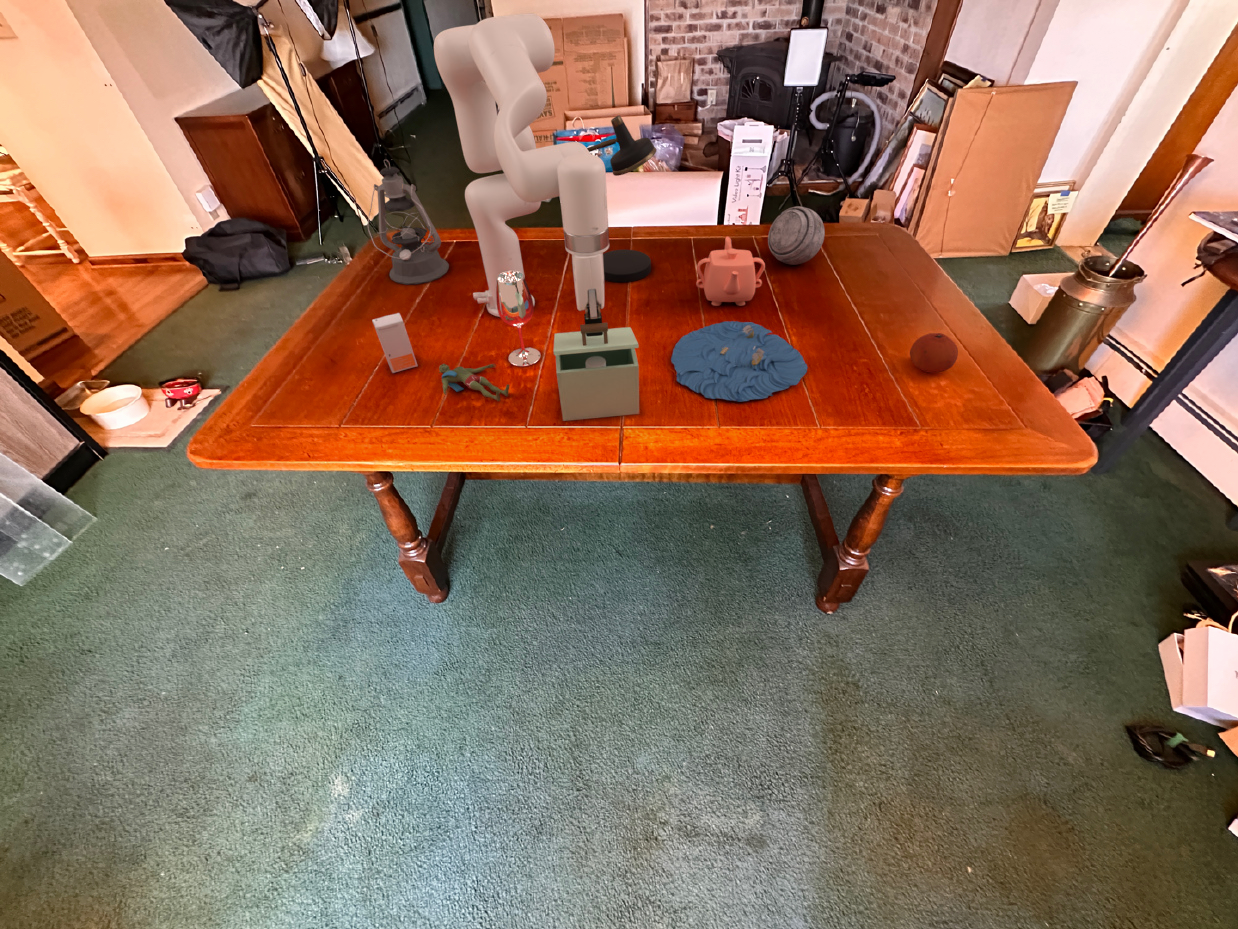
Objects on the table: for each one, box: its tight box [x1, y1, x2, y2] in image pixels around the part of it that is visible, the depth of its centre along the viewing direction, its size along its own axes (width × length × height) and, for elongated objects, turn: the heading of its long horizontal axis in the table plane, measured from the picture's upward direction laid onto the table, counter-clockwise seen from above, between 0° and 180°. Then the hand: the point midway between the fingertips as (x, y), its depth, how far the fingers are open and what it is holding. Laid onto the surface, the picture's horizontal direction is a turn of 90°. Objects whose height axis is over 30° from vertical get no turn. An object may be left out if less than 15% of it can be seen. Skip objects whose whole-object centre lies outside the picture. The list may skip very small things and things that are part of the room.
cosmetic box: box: [371, 312, 419, 374], centre depth 125 cm, size 6×4×12 cm
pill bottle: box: [586, 356, 606, 368], centre depth 113 cm, size 5×5×10 cm
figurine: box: [438, 363, 510, 402], centre depth 121 cm, size 16×4×18 cm
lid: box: [553, 322, 639, 356], centre depth 107 cm, size 13×16×5 cm
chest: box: [555, 348, 640, 422], centre depth 114 cm, size 13×16×12 cm
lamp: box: [586, 114, 657, 284], centre depth 147 cm, size 16×22×38 cm
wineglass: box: [496, 271, 542, 367], centre depth 123 cm, size 8×8×20 cm
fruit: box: [909, 332, 959, 374], centre depth 119 cm, size 9×9×8 cm
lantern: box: [367, 159, 450, 286], centre depth 152 cm, size 18×20×30 cm
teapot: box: [695, 236, 766, 307], centre depth 142 cm, size 15×17×13 cm
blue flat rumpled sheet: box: [670, 320, 809, 403], centre depth 123 cm, size 30×30×5 cm
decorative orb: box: [767, 205, 826, 266], centre depth 154 cm, size 15×14×15 cm
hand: (594, 333), depth 107 cm, fingers closed
